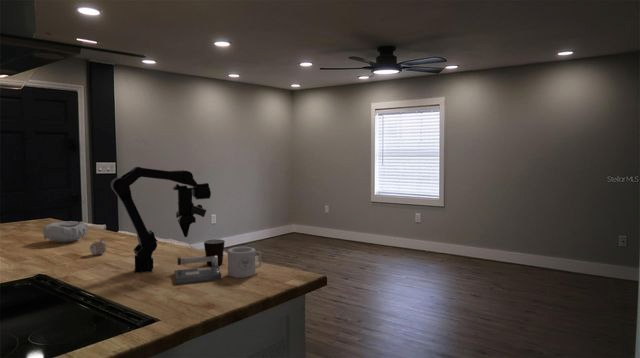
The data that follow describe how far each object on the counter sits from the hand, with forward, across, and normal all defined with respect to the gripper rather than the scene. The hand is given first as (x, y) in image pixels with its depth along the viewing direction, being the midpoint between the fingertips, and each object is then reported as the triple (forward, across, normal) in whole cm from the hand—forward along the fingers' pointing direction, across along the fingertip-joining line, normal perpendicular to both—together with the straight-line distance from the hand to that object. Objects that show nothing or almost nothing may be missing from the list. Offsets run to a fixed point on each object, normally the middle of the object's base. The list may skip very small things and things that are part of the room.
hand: (185, 236), depth 187 cm
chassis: (+12, -21, -2) cm, 24 cm away
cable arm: (+11, -12, -3) cm, 17 cm away
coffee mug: (+12, -3, -12) cm, 17 cm away
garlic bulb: (+12, +34, +36) cm, 51 cm away
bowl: (+12, +72, +54) cm, 91 cm away
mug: (+12, -23, -20) cm, 33 cm away
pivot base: (+12, -12, -10) cm, 20 cm away
